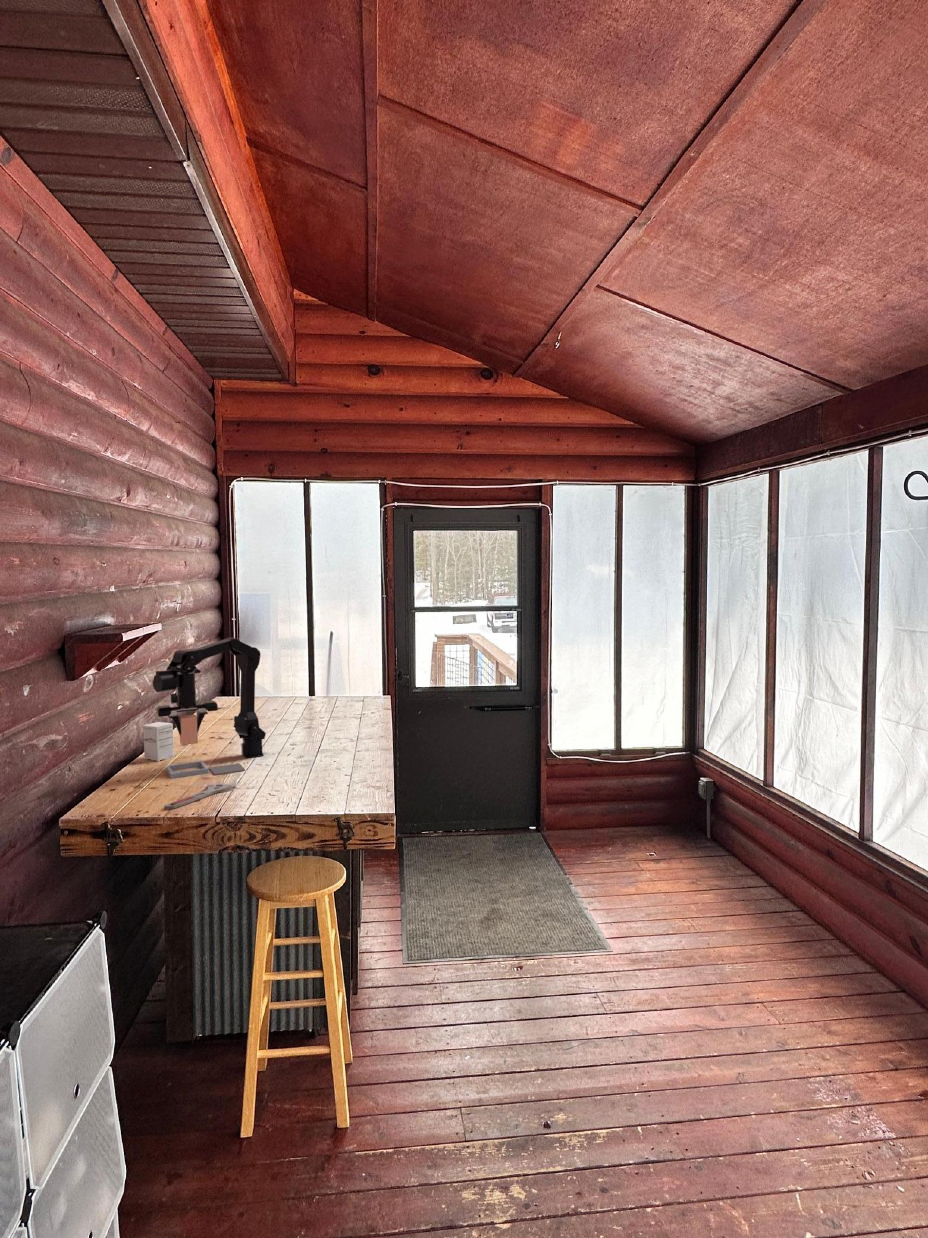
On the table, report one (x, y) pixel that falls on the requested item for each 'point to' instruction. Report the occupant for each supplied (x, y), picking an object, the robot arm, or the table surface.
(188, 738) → the block
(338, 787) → the table surface
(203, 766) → the blue-grey square frame
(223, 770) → the place mat
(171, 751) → the supplement box
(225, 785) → the adjustable wrench
